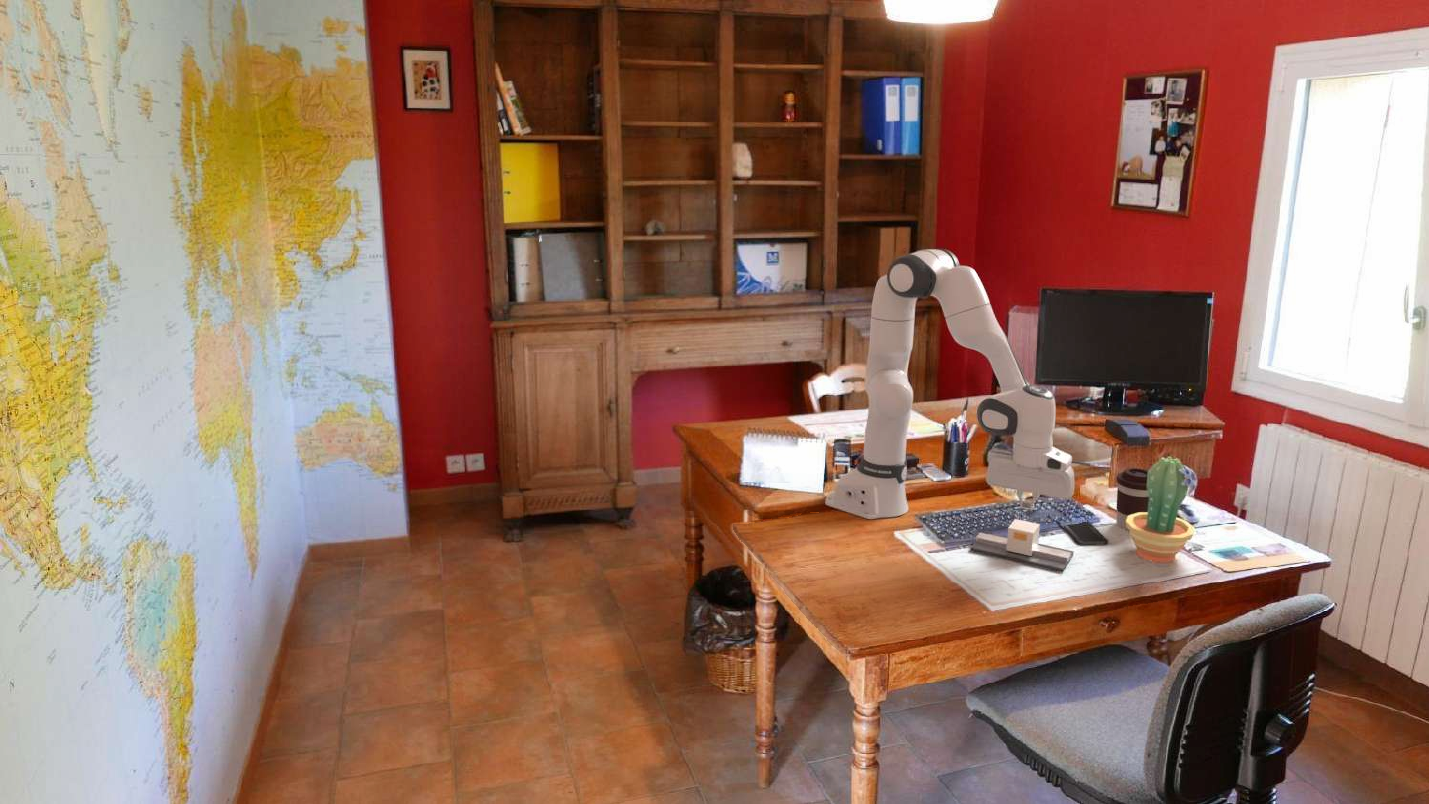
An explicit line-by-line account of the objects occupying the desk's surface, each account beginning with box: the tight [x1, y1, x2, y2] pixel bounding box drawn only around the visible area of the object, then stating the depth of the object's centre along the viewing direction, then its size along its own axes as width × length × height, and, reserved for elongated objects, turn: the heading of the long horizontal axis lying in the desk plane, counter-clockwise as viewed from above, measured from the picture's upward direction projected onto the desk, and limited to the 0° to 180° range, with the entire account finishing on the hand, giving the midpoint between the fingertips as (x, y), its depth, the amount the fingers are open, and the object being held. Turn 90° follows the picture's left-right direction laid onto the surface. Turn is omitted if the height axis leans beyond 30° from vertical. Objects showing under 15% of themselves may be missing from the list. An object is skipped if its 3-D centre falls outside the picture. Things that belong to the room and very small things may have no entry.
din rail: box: [970, 532, 1075, 574], centre depth 237 cm, size 22×11×2 cm, turn 59°
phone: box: [1063, 519, 1109, 546], centre depth 249 cm, size 8×1×15 cm
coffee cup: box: [1116, 467, 1149, 531], centre depth 251 cm, size 10×10×15 cm
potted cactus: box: [1126, 455, 1198, 564], centre depth 234 cm, size 15×15×25 cm
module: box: [1006, 518, 1041, 556], centre depth 236 cm, size 6×6×6 cm
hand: (1026, 508), depth 234 cm, fingers closed
